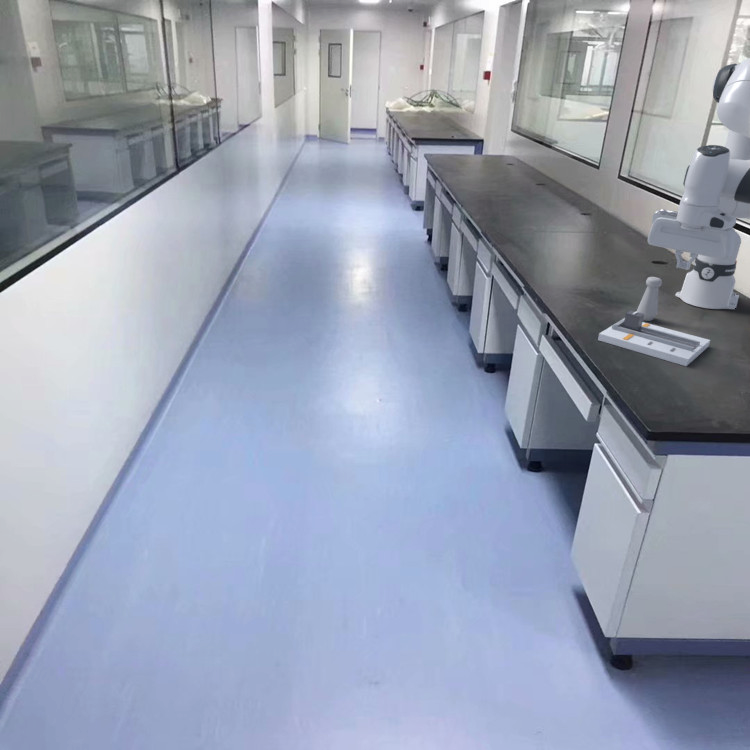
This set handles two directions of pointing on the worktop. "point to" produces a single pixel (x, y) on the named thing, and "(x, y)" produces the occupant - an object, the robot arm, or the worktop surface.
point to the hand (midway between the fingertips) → (682, 268)
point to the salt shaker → (650, 299)
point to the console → (656, 342)
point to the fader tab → (633, 320)
